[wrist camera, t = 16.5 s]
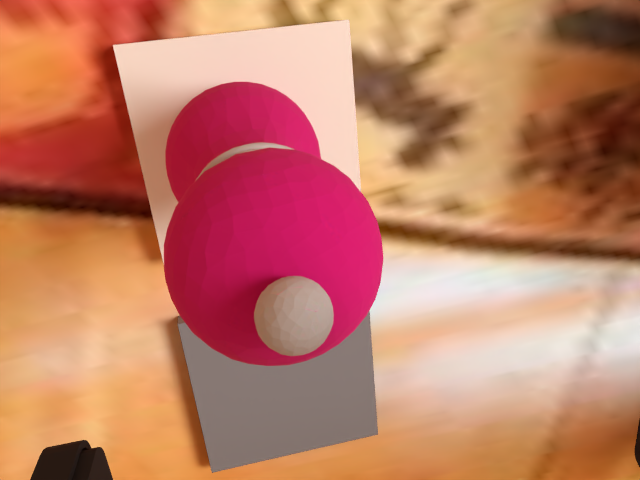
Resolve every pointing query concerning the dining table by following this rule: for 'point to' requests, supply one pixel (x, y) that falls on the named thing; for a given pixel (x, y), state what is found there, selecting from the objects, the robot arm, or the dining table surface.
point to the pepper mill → (264, 230)
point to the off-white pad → (239, 66)
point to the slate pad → (281, 400)
